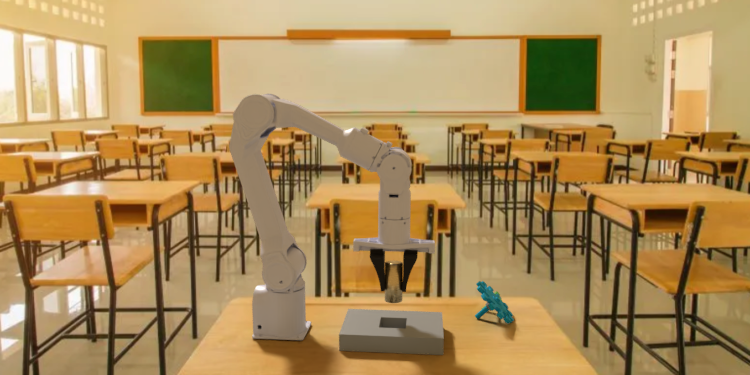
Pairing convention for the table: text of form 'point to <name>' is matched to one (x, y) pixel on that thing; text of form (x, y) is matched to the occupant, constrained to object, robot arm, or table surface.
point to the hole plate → (392, 332)
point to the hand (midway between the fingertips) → (393, 289)
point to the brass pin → (393, 281)
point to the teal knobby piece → (493, 303)
